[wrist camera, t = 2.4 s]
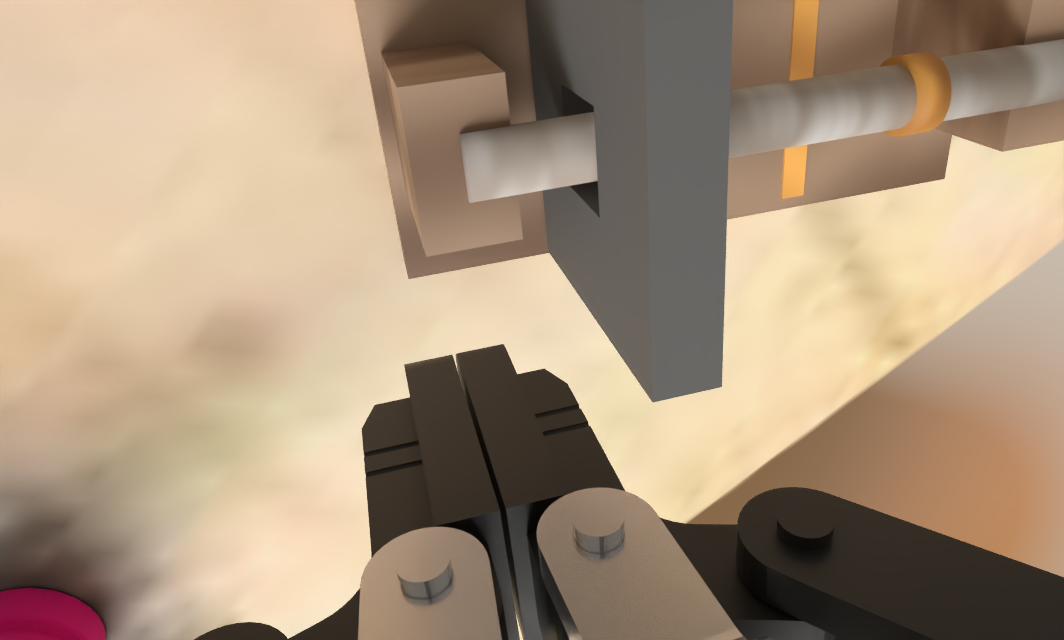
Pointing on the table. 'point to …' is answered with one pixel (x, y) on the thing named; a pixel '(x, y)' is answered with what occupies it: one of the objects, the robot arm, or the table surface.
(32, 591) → the pepper mill
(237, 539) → the table surface
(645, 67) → the collar
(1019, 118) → the rod stand
